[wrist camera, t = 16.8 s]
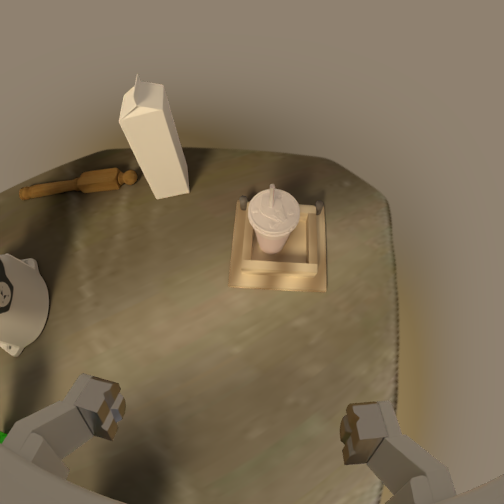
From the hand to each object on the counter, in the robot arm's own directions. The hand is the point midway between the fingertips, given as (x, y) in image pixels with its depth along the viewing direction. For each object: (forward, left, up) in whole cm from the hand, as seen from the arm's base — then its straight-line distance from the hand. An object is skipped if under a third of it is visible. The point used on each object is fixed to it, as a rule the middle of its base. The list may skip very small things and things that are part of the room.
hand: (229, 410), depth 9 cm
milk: (-16, +31, -32) cm, 47 cm away
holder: (+3, +20, -31) cm, 38 cm away
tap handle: (-38, +31, -32) cm, 58 cm away
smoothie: (+2, +20, -31) cm, 37 cm away
